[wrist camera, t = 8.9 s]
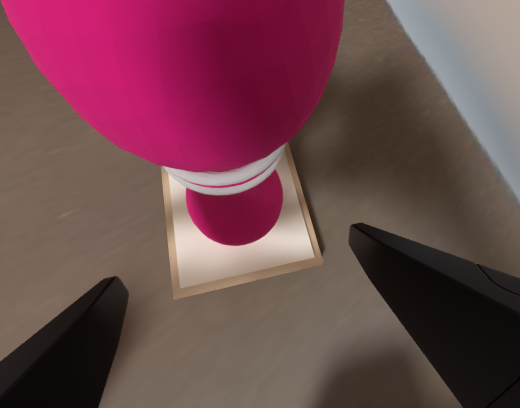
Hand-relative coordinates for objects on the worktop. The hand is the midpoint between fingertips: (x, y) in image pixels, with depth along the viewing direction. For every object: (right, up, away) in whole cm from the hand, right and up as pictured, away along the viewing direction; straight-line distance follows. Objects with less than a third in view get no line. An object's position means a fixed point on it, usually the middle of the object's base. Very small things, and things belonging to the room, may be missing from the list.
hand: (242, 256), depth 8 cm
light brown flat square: (-2, +1, +14) cm, 14 cm away
